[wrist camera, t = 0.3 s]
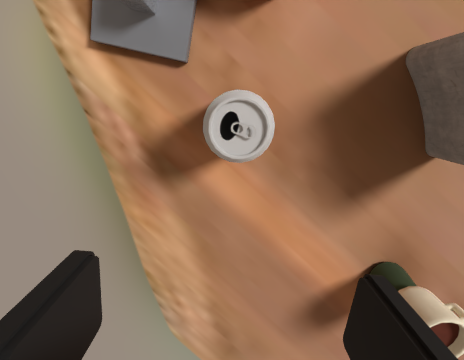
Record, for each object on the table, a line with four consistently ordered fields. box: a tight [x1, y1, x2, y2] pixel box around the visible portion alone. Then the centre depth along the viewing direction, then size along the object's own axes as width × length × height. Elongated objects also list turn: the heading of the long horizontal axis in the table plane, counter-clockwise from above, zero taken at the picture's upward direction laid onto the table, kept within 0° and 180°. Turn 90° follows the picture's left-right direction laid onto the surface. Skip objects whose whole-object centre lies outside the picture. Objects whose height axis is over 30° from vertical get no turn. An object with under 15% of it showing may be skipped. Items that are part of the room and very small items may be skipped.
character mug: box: [370, 262, 464, 358], centre depth 38 cm, size 11×7×13 cm, turn 105°
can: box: [203, 90, 275, 163], centre depth 31 cm, size 8×8×12 cm
